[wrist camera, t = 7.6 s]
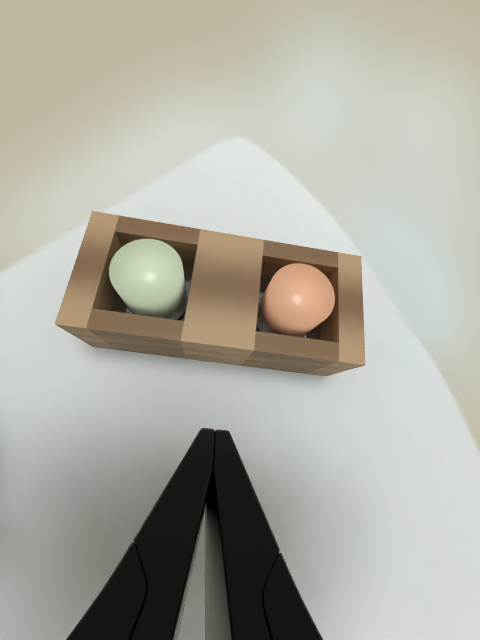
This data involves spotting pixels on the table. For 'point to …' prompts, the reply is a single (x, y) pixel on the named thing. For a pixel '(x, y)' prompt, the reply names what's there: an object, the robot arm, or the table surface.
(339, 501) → the table surface
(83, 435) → the table surface
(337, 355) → the wooden compartment box
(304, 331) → the peach orange egg
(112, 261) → the pale green egg
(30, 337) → the table surface
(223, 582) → the robot arm
